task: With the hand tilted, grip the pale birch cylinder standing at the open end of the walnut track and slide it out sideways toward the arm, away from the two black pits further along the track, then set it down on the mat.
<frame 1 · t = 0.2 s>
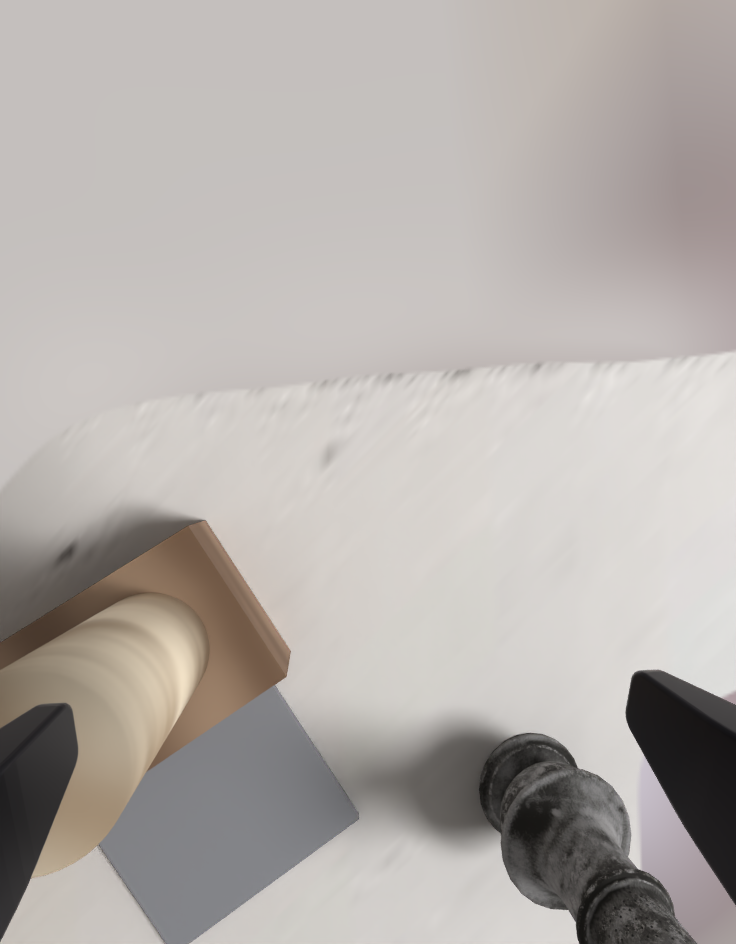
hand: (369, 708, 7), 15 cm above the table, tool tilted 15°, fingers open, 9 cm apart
wooden track: (171, 629, 22), on the table
birch cylinder: (148, 652, 19), point 3 cm above the table, touching wooden track
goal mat: (223, 808, 22), on the table
salt shaker: (528, 783, 24), on the table
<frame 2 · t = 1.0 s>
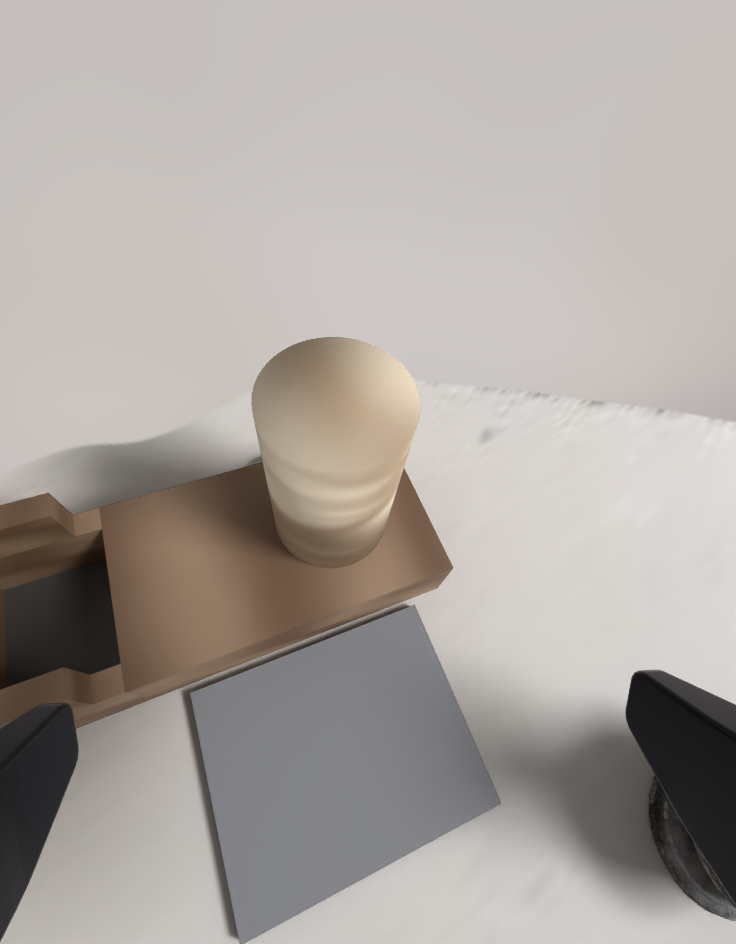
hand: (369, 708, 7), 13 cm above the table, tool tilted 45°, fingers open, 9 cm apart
wooden track: (329, 540, 23), on the table
birch cylinder: (331, 514, 20), point 3 cm above the table, touching wooden track
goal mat: (341, 746, 18), on the table
salt shaker: (711, 829, 18), on the table
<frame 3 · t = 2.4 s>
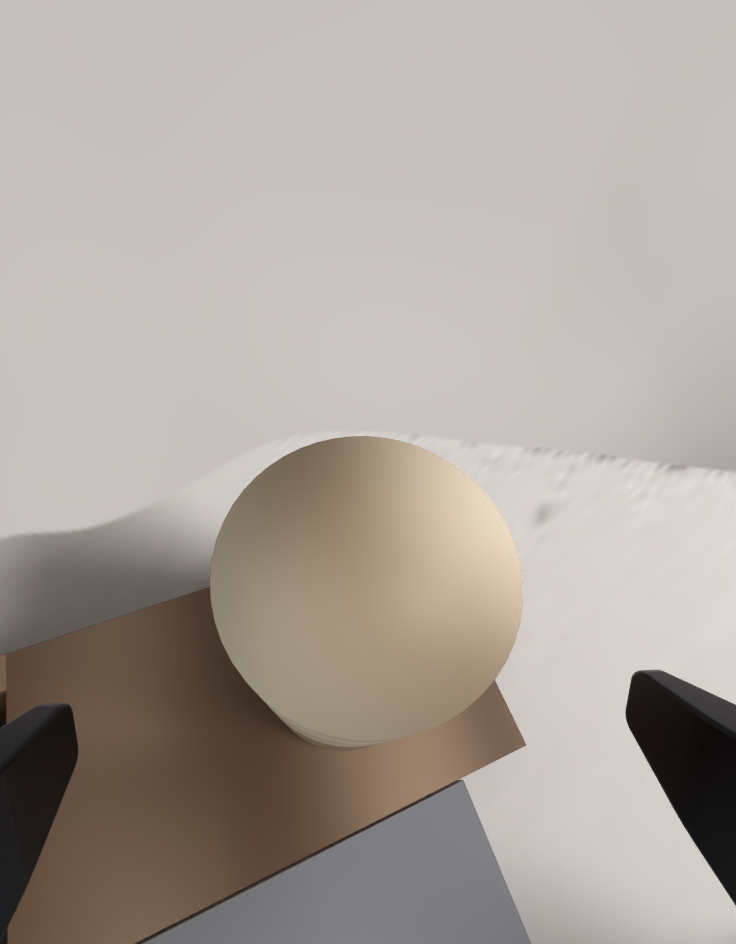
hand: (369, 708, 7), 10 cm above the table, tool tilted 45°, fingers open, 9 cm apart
wooden track: (341, 673, 16), on the table
birch cylinder: (345, 657, 14), point 3 cm above the table, touching wooden track
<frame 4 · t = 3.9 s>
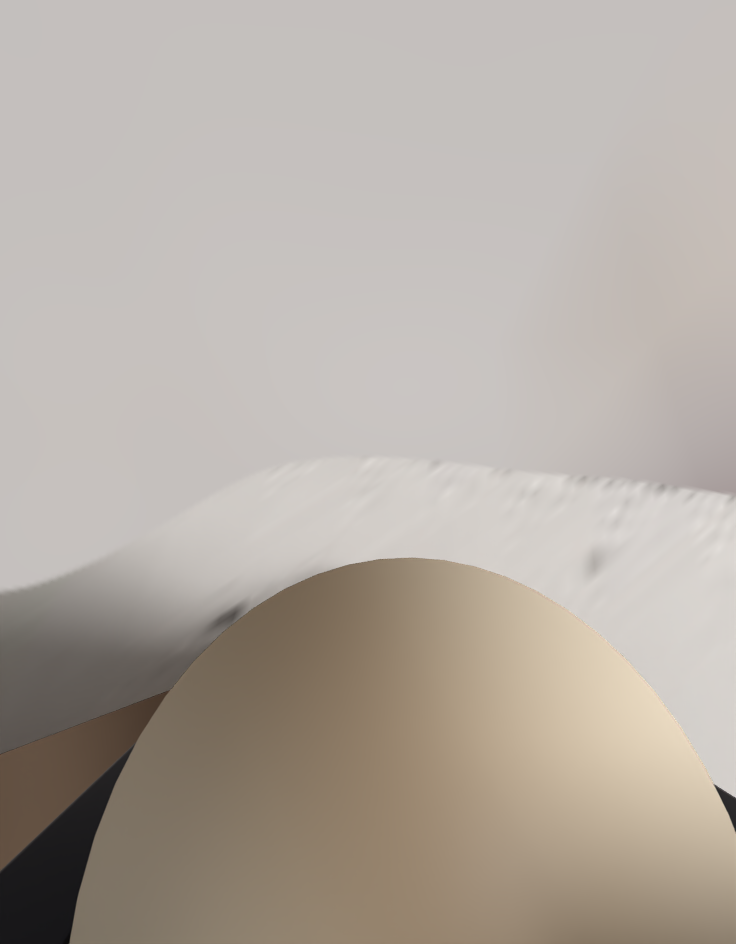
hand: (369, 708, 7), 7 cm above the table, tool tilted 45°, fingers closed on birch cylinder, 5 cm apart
wooden track: (348, 786, 13), on the table
birch cylinder: (356, 795, 10), point 3 cm above the table, touching gripper, wooden track
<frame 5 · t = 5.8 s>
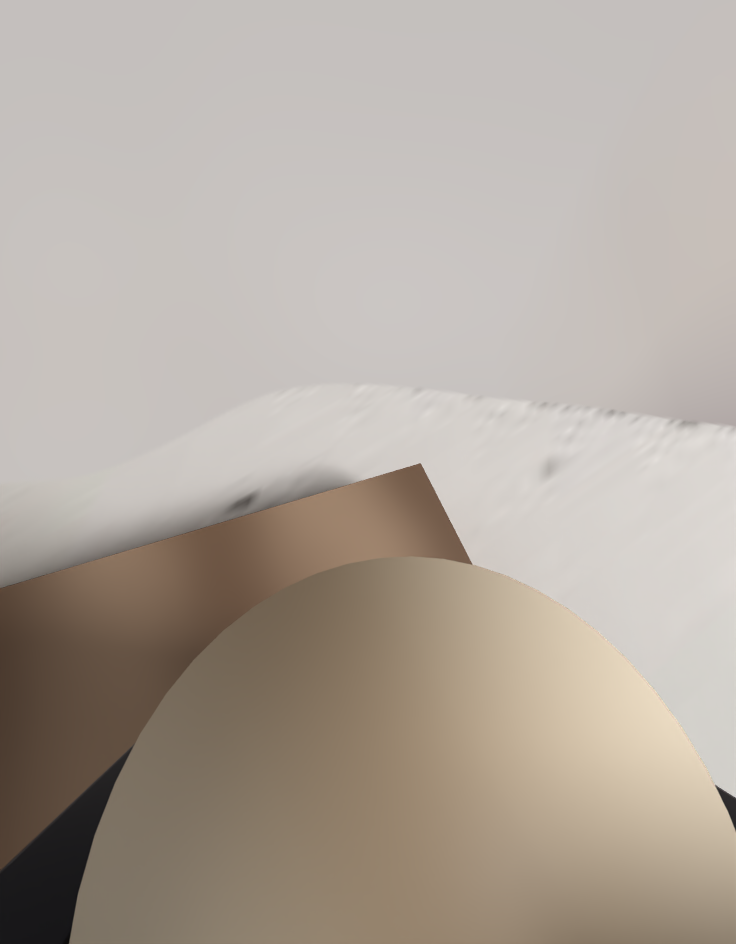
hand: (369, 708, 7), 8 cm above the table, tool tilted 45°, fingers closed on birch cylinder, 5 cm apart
wooden track: (341, 622, 16), on the table
birch cylinder: (356, 794, 10), point 4 cm above the table, touching gripper
when the fingers open (6 cm above the table, at t = 7.6 s): birch cylinder drops 2 cm, resting on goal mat.
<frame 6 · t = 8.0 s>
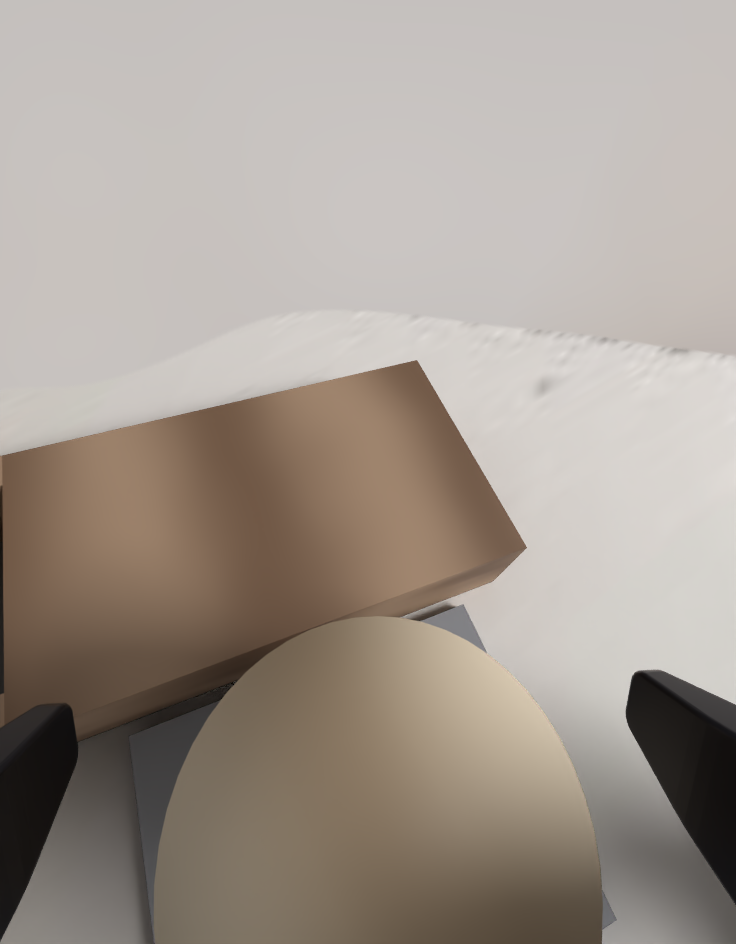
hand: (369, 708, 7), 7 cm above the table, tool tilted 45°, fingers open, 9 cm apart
wooden track: (340, 514, 16), on the table
birch cylinder: (350, 792, 12), resting on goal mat
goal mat: (360, 822, 12), on the table
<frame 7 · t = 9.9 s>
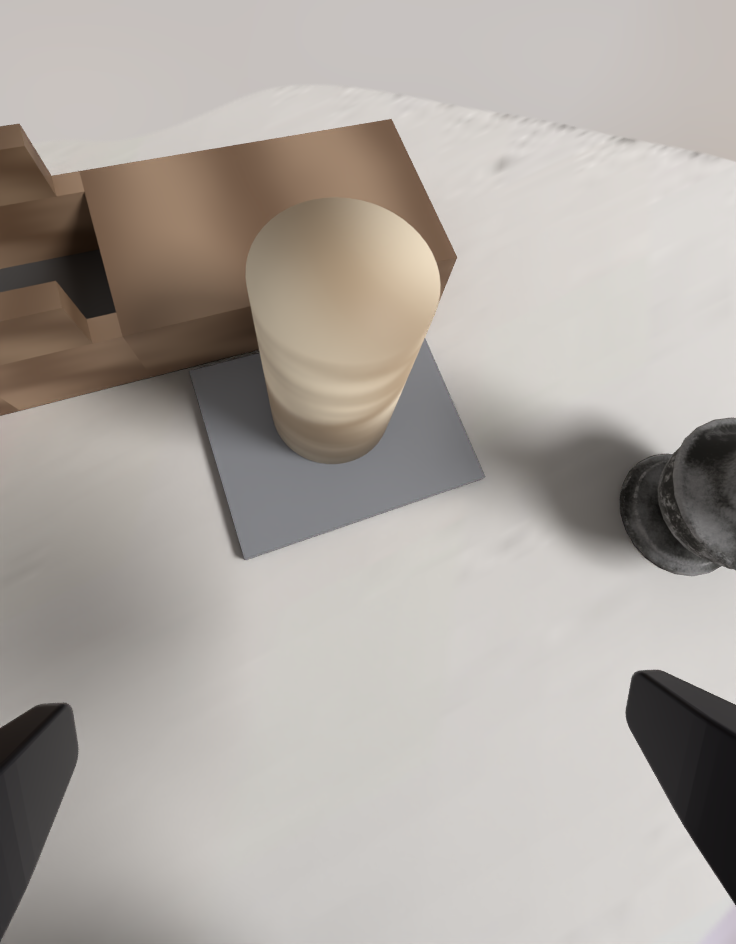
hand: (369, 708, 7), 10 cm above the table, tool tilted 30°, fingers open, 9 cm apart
wooden track: (328, 252, 22), on the table
birch cylinder: (331, 408, 19), resting on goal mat
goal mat: (337, 427, 19), on the table
salt shaker: (674, 513, 20), on the table
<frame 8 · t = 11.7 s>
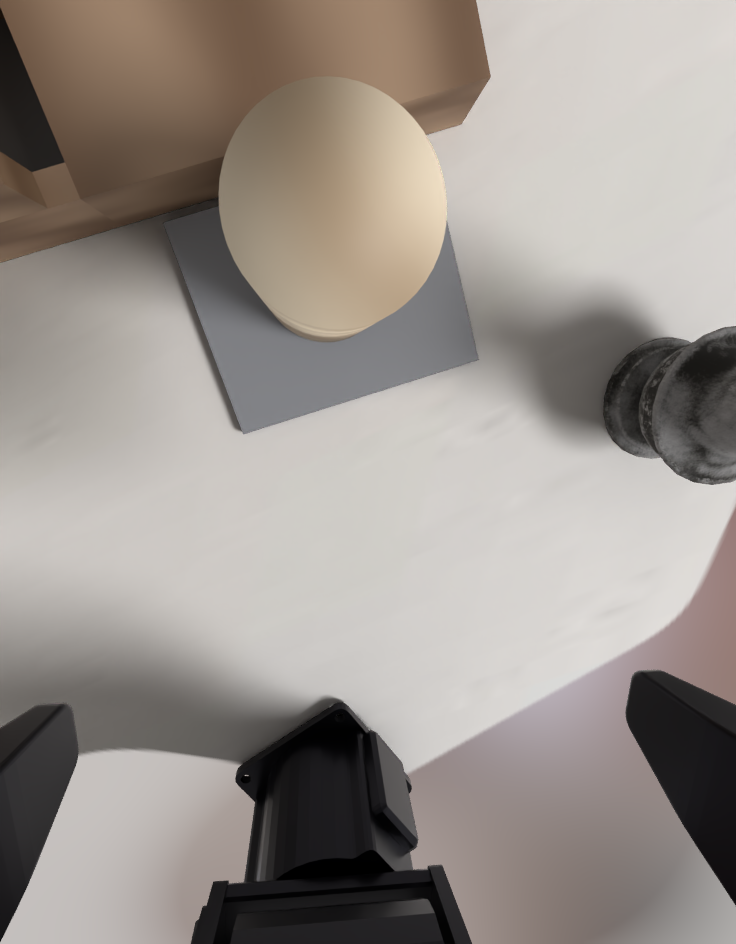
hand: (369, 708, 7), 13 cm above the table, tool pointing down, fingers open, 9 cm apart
wooden track: (324, 27, 16), on the table
birch cylinder: (324, 276, 17), resting on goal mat
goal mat: (331, 297, 18), on the table
salt shaker: (656, 399, 21), on the table
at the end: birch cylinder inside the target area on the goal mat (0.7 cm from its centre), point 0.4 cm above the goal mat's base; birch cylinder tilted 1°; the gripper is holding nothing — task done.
